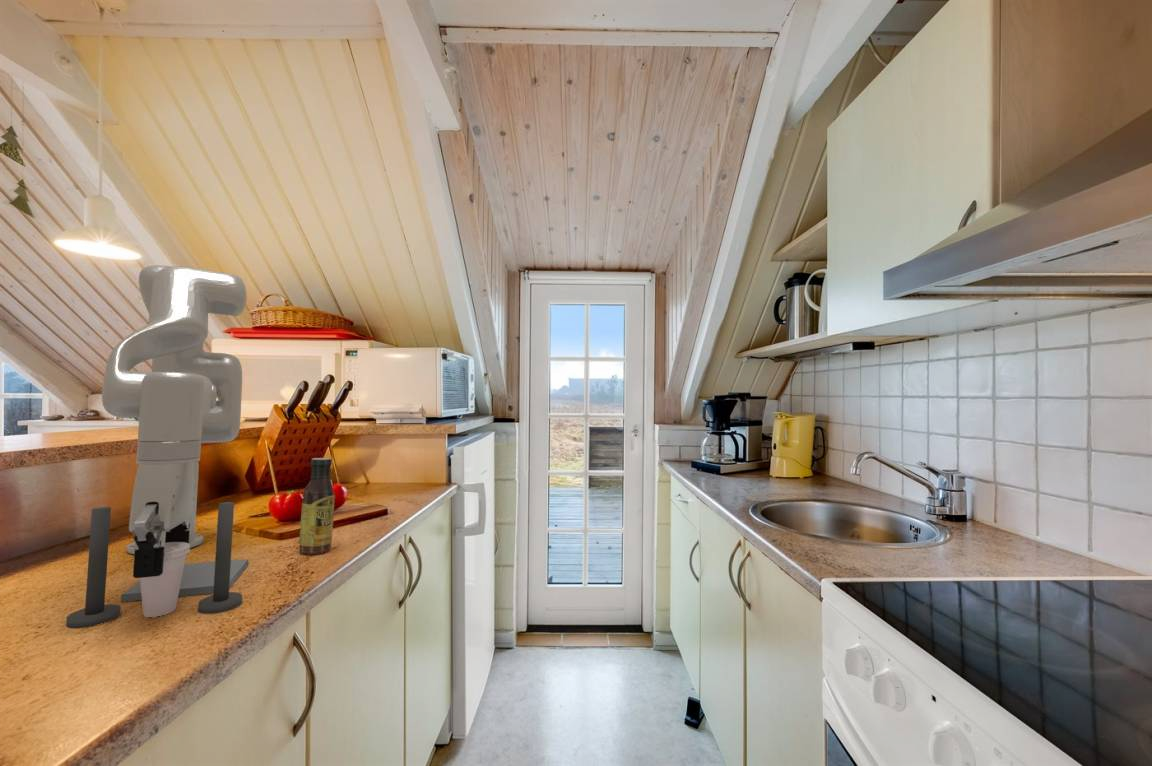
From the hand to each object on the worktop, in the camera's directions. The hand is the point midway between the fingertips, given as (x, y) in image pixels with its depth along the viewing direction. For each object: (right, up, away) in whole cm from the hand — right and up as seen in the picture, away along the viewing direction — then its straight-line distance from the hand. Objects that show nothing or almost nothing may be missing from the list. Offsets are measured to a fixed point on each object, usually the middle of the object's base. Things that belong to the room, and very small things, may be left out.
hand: (162, 565), depth 73 cm
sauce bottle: (+7, -9, +31) cm, 33 cm away
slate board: (-5, -7, +12) cm, 15 cm away
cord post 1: (-8, -7, -3) cm, 11 cm away
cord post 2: (+7, -7, +3) cm, 10 cm away
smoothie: (0, -7, 0) cm, 7 cm away
